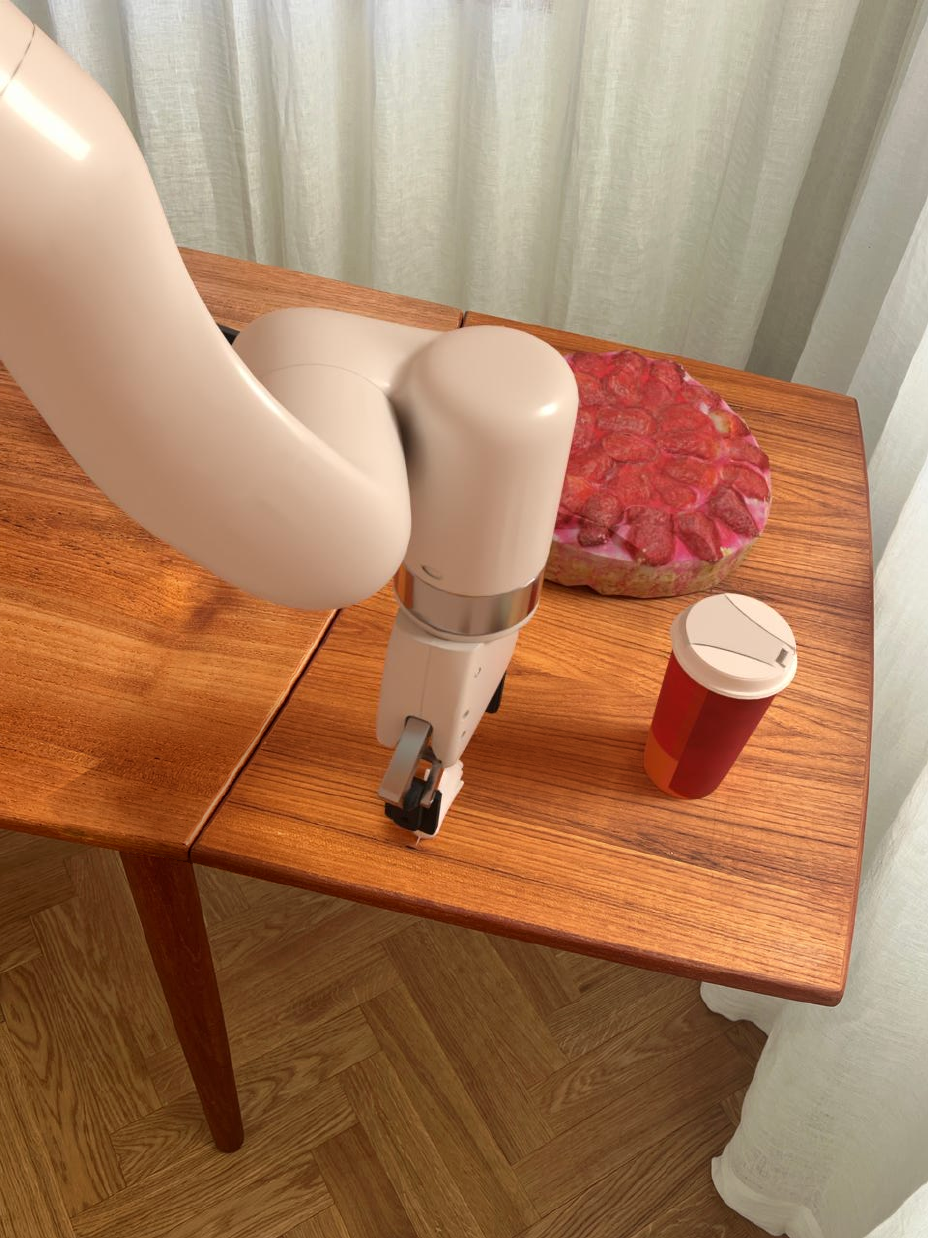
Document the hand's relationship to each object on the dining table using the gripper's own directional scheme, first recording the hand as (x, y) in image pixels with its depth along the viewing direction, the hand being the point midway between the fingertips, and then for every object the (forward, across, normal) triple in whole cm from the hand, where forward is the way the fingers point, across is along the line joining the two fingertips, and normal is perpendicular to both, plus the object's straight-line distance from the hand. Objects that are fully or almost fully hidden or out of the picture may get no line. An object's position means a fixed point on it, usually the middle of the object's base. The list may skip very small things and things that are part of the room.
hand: (444, 760), depth 68 cm
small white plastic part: (+6, 0, 0) cm, 6 cm away
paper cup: (+6, -11, +14) cm, 19 cm away
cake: (+6, -35, +1) cm, 35 cm away
